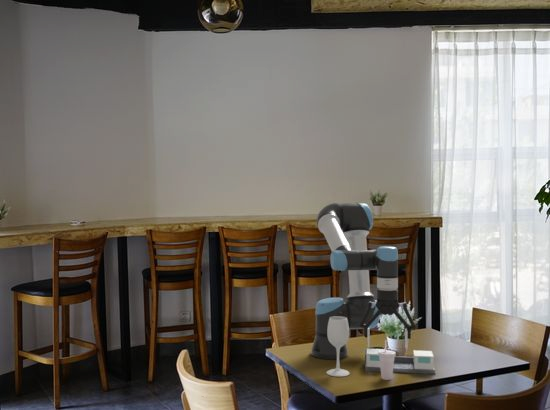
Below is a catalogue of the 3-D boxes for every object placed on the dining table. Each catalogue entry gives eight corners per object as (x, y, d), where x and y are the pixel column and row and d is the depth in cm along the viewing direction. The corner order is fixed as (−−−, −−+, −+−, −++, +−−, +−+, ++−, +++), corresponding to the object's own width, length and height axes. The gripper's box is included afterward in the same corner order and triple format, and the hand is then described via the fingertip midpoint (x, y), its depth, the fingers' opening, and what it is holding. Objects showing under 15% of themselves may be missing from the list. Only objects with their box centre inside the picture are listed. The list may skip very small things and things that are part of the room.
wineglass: (353, 375, 236) (353, 319, 235) (331, 377, 233) (331, 321, 233) (344, 369, 244) (344, 315, 243) (323, 371, 241) (323, 316, 241)
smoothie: (384, 374, 237) (384, 337, 237) (399, 378, 233) (399, 340, 232) (374, 378, 233) (374, 340, 232) (388, 382, 228) (389, 343, 228)
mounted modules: (366, 366, 242) (366, 353, 242) (366, 360, 250) (366, 348, 250) (433, 369, 238) (433, 356, 238) (431, 363, 246) (431, 351, 246)
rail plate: (365, 370, 242) (365, 361, 242) (365, 363, 252) (365, 354, 252) (435, 374, 238) (435, 364, 238) (432, 366, 248) (432, 357, 248)
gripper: (352, 289, 230) (352, 348, 230) (423, 291, 226) (423, 350, 226) (353, 286, 237) (353, 343, 238) (421, 288, 234) (421, 345, 234)
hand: (387, 347), depth 232 cm, fingers open, 13 cm apart
